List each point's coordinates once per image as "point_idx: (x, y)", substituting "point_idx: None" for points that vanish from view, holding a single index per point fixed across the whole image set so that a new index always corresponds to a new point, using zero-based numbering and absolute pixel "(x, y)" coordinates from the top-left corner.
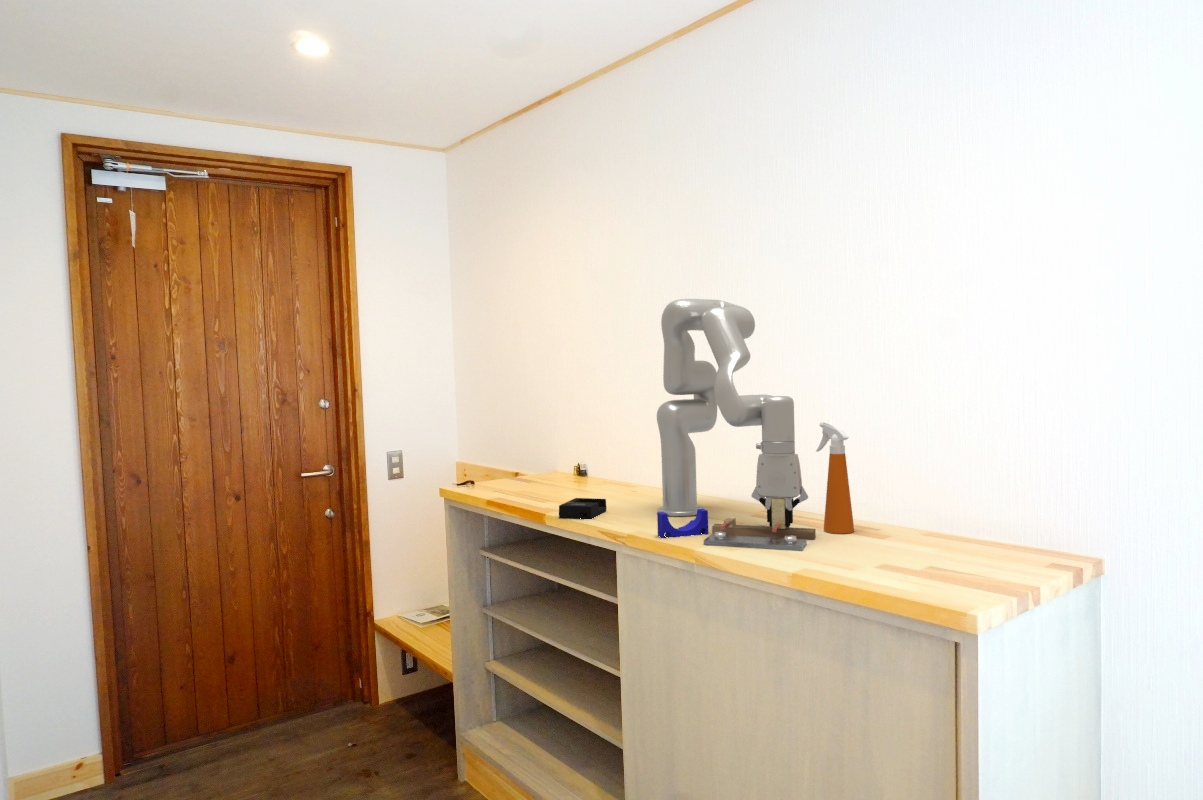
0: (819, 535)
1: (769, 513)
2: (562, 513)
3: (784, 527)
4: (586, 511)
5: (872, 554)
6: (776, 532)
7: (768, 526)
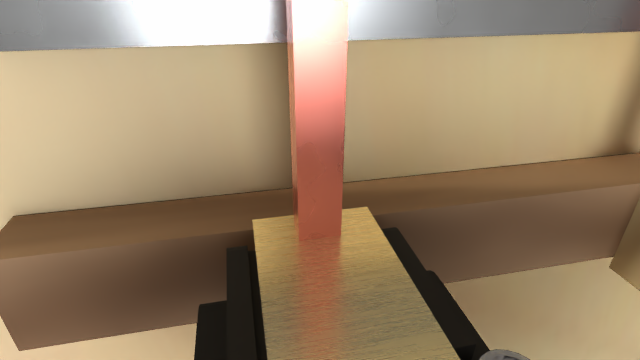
0: (51, 349)
1: (450, 310)
2: None
3: (258, 228)
4: None
5: None
6: None
7: None
